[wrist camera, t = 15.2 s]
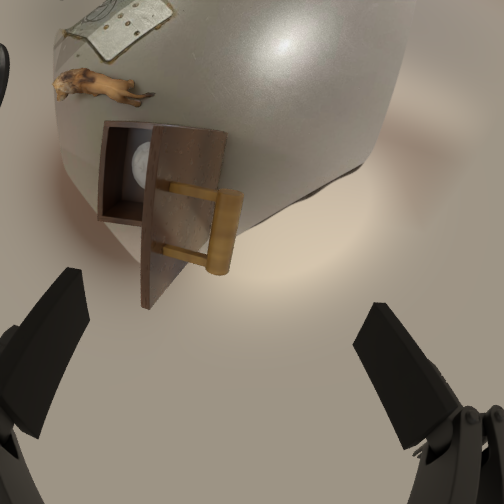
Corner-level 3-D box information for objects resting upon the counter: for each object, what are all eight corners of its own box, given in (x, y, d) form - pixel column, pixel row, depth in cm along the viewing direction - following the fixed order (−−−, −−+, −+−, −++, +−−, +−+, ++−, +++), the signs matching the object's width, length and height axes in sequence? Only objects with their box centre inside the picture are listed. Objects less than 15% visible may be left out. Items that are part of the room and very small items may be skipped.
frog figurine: (179, 141, 37) (170, 143, 30) (174, 185, 40) (165, 197, 33) (140, 139, 36) (125, 142, 30) (137, 183, 39) (122, 194, 32)
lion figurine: (73, 102, 32) (44, 101, 23) (81, 73, 29) (53, 65, 21) (151, 109, 35) (132, 105, 27) (160, 77, 33) (144, 66, 24)
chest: (118, 202, 40) (97, 220, 32) (126, 121, 35) (104, 120, 27) (209, 215, 43) (206, 236, 35) (224, 131, 38) (225, 132, 30)
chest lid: (140, 307, 20) (213, 330, 20) (152, 124, 14) (249, 139, 14) (203, 236, 35) (248, 248, 35) (221, 131, 29) (272, 141, 29)
